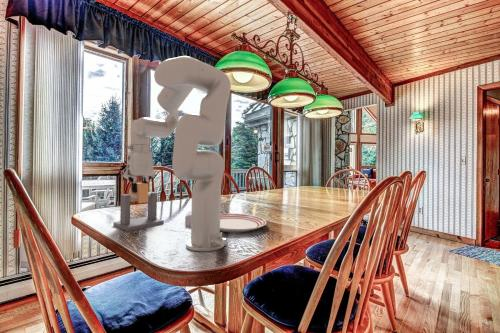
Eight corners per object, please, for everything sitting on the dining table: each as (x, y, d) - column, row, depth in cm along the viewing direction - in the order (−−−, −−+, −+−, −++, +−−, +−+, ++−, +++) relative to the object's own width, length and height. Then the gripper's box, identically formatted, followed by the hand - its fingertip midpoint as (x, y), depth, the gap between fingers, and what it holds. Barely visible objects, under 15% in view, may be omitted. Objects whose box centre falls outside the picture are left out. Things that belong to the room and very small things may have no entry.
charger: (207, 218, 125) (206, 225, 110) (188, 218, 123) (185, 226, 108) (207, 208, 124) (206, 215, 110) (188, 208, 123) (185, 215, 108)
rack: (163, 223, 111) (164, 193, 110) (127, 231, 98) (127, 196, 98) (148, 219, 118) (149, 190, 118) (113, 225, 105) (113, 193, 105)
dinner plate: (267, 220, 121) (267, 214, 121) (265, 238, 94) (265, 229, 94) (211, 218, 124) (211, 211, 124) (193, 234, 97) (194, 225, 97)
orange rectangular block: (148, 202, 107) (148, 183, 107) (139, 203, 104) (139, 184, 104) (139, 200, 112) (139, 182, 111) (130, 201, 108) (131, 183, 108)
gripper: (124, 148, 98) (124, 194, 99) (162, 150, 112) (161, 191, 112) (115, 148, 103) (115, 192, 103) (153, 150, 116) (152, 189, 117)
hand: (139, 191), depth 108 cm, fingers closed on orange rectangular block, 3 cm apart
